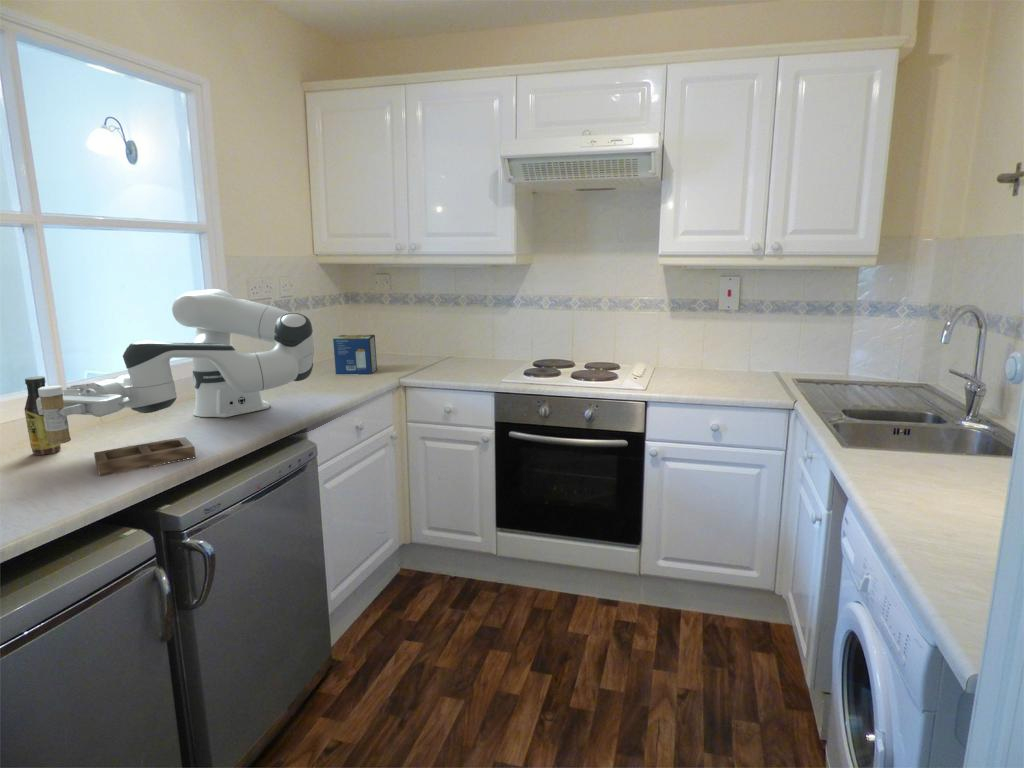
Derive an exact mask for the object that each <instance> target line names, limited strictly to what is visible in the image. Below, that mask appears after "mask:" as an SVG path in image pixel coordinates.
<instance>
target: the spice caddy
mask: <svg viewBox="0 0 1024 768" xmlns="http://www.w3.org/2000/svg"><path fill="white" fill-rule="evenodd" d="M195 451H196V449H195V445H194V444H193V443H192V442H191V441H190V440H189V439H188V438H187V436H183V437H182V436H181V437H177V438H176V437H175V438H171V439H164V440H160V441H153V442H147V443H142V444H140V443H139V444H135V445H129V446H124V447H123V446H122V447H118V448H112V449H111V448H110V449H107V450H106V449H105V450H101V451H94V452H93V453H94V454H93V455H94V460H95V461H94V462H95V466H96V468H97V471H98V474H99V477H102V476H108V475H114V473H115V474H120V473H124V472H128V471H129V472H131V471H134V470H140V468H141V469H146V468H150V466H151V467H155V466H154V465H156V466H160V464H162V465H165V464H164V463H167V464H169V463H168V462H172V463H174V462H173V461H177V462H179V461H178V460H182V461H184V460H183V459H187V458H193V457H196V452H195ZM193 459H194V458H193ZM145 467H146V468H145Z"/></svg>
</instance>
